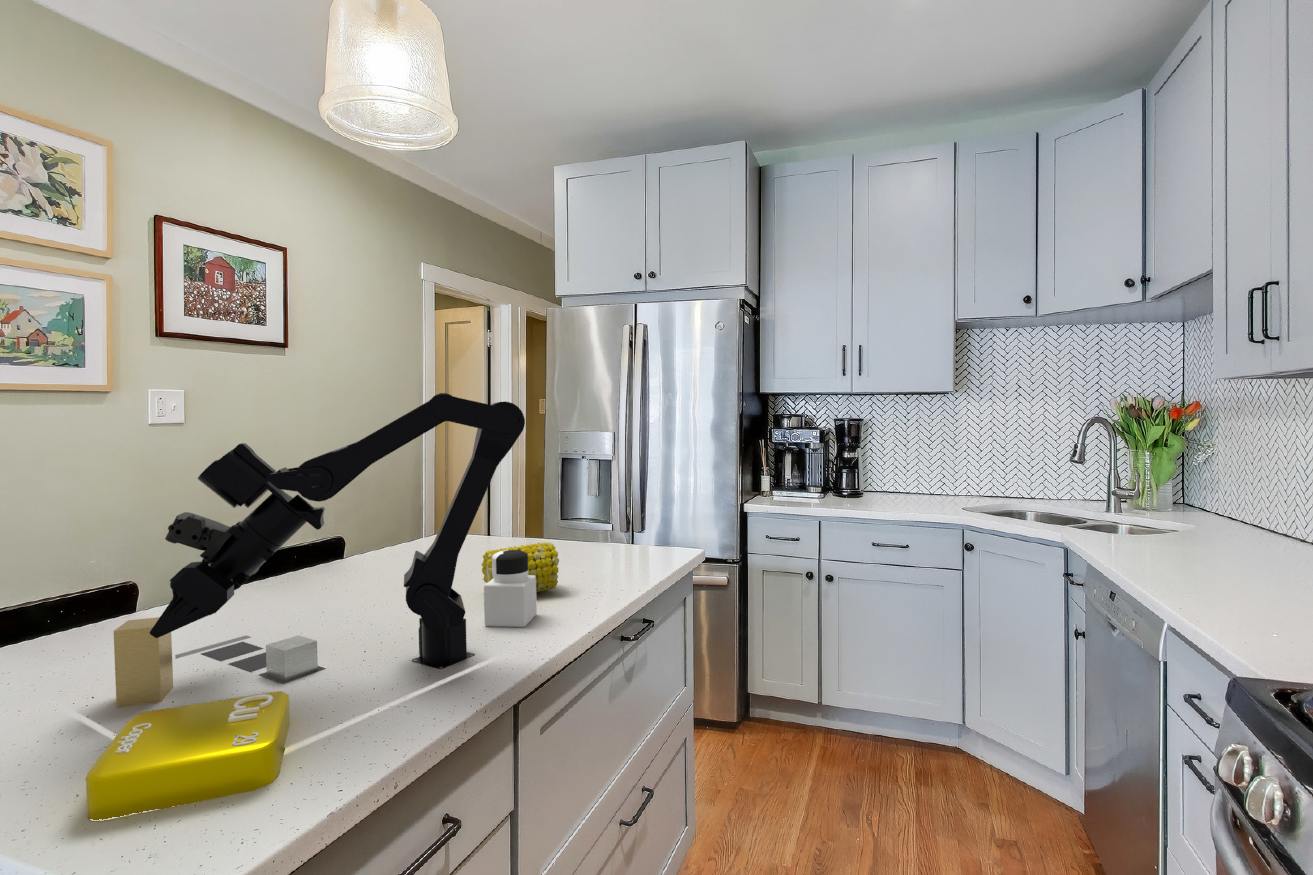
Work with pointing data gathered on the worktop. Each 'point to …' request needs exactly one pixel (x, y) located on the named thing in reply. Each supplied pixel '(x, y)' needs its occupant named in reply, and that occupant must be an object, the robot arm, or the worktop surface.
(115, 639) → the tan wooden block
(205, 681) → the worktop surface
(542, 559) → the food
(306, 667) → the zinc block
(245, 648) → the grey slotted plate
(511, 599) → the medicine bottle
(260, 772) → the element tile
